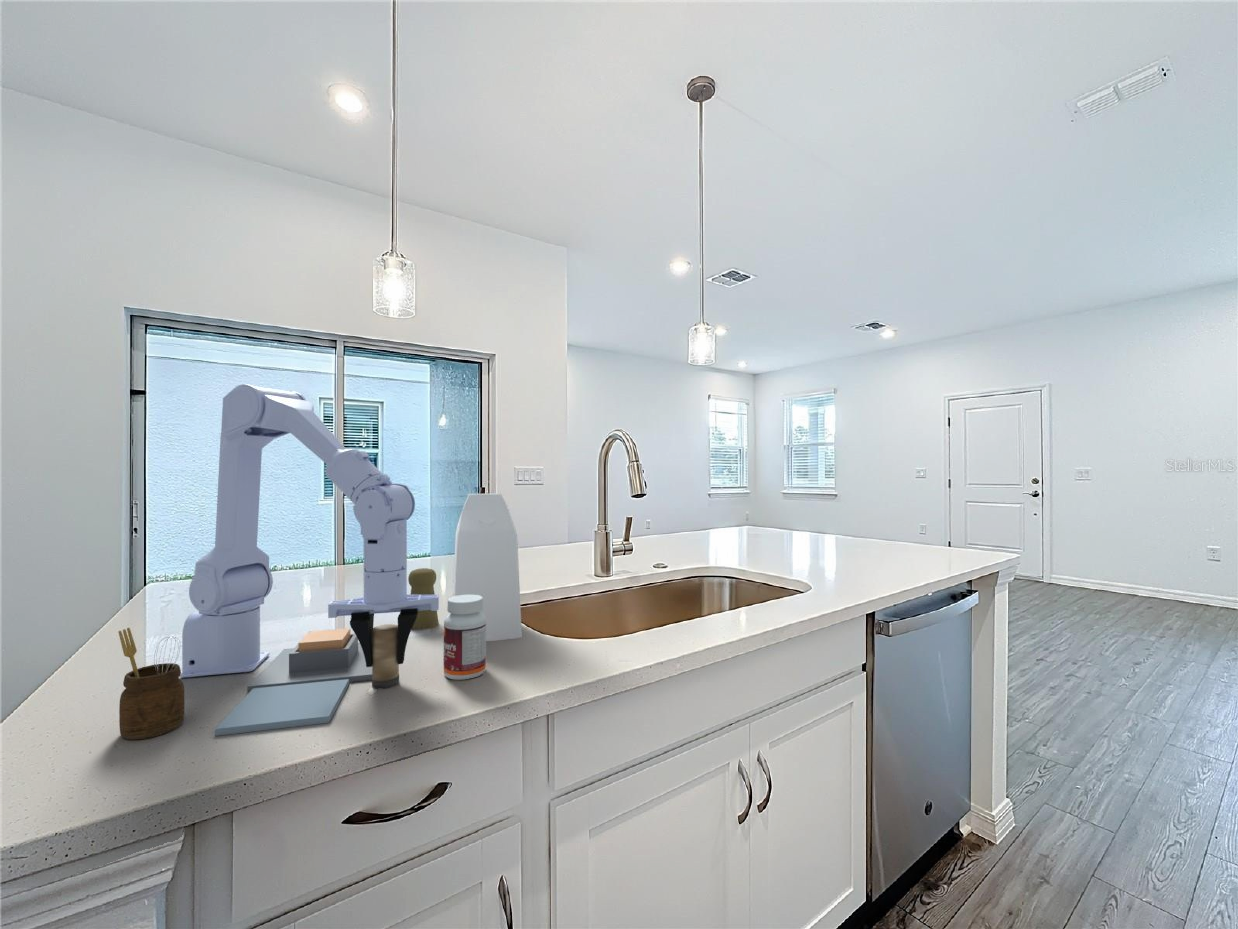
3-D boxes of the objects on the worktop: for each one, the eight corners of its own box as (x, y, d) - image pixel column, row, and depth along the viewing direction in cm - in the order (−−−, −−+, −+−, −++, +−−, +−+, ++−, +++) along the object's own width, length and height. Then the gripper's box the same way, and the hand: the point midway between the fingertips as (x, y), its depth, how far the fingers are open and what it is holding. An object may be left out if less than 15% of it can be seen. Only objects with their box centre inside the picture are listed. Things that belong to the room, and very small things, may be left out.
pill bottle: (436, 672, 83) (436, 598, 83) (473, 662, 87) (473, 591, 87) (455, 684, 79) (455, 605, 79) (493, 673, 83) (493, 598, 83)
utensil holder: (161, 740, 63) (161, 635, 63) (102, 742, 62) (102, 637, 62) (196, 717, 69) (196, 621, 69) (142, 719, 68) (142, 622, 68)
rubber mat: (214, 735, 64) (214, 729, 64) (253, 694, 75) (253, 688, 75) (329, 722, 67) (329, 716, 67) (349, 684, 79) (349, 679, 79)
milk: (513, 620, 111) (513, 491, 111) (521, 637, 100) (521, 494, 100) (451, 626, 107) (450, 492, 107) (452, 644, 96) (452, 496, 96)
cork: (428, 630, 104) (428, 572, 104) (399, 628, 105) (399, 571, 105) (444, 621, 110) (444, 566, 110) (417, 620, 111) (417, 565, 111)
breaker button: (298, 656, 82) (298, 643, 82) (309, 643, 88) (309, 631, 88) (342, 652, 84) (342, 639, 84) (350, 640, 90) (350, 628, 90)
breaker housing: (247, 692, 76) (247, 666, 76) (284, 653, 92) (284, 632, 92) (372, 679, 80) (372, 655, 80) (387, 645, 96) (387, 624, 96)
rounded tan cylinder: (369, 689, 77) (369, 632, 77) (374, 680, 80) (374, 625, 80) (397, 687, 78) (397, 630, 78) (400, 677, 81) (400, 623, 81)
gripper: (322, 577, 73) (322, 679, 73) (437, 571, 77) (437, 667, 77) (334, 567, 80) (334, 660, 80) (439, 562, 84) (439, 651, 84)
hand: (385, 663), depth 79 cm, fingers closed on rounded tan cylinder, 3 cm apart
